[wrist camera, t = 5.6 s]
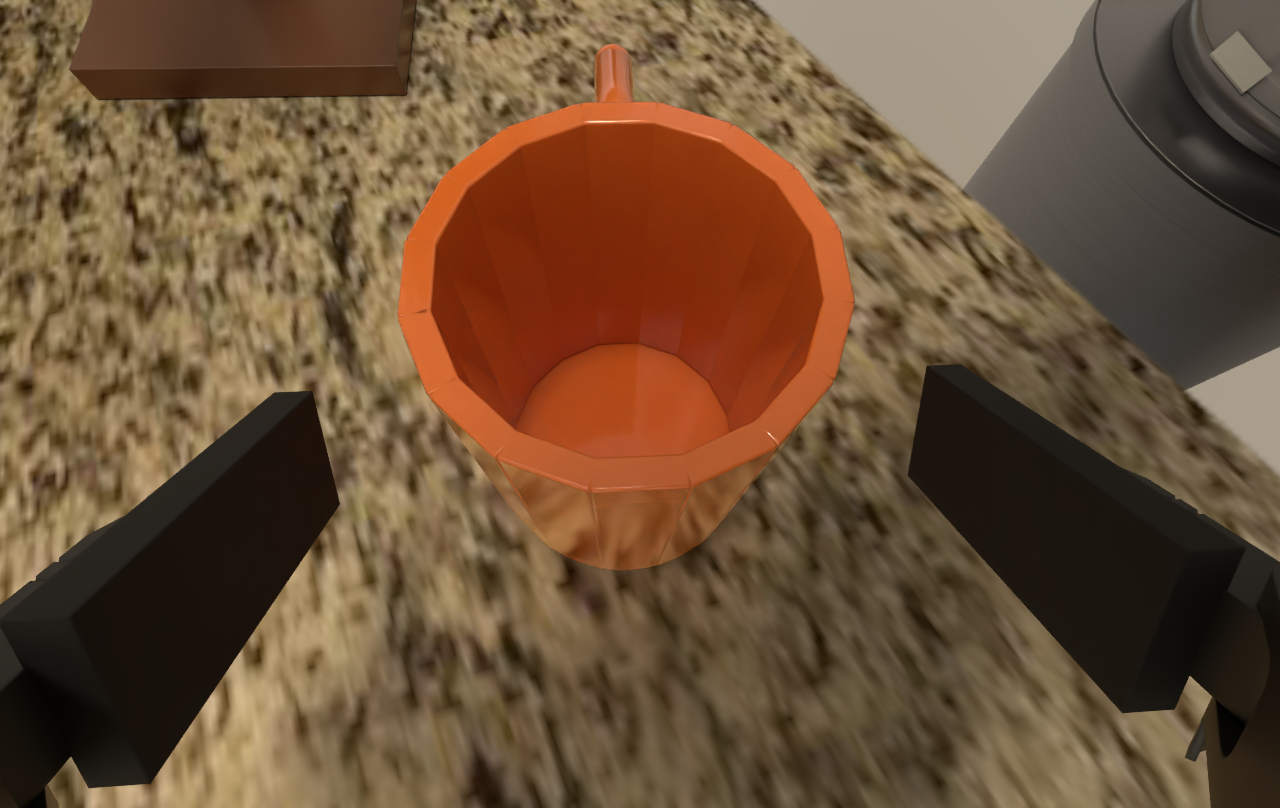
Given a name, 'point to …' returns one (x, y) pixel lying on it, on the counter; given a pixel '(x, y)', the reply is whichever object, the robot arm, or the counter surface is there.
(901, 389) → the counter surface
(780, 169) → the mug
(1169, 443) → the counter surface
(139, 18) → the stand
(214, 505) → the robot arm
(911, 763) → the counter surface
